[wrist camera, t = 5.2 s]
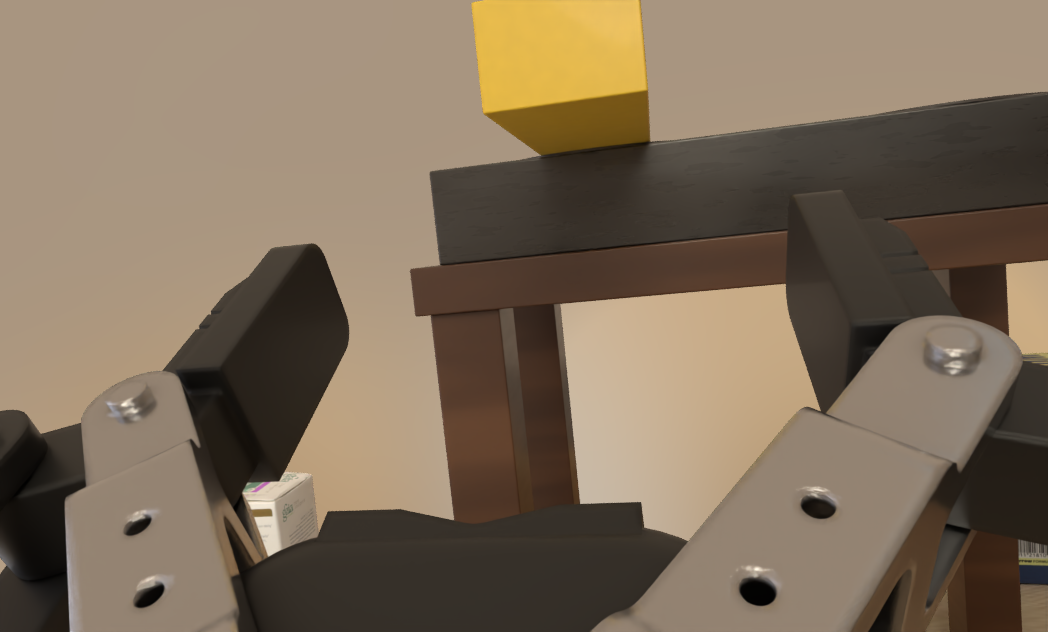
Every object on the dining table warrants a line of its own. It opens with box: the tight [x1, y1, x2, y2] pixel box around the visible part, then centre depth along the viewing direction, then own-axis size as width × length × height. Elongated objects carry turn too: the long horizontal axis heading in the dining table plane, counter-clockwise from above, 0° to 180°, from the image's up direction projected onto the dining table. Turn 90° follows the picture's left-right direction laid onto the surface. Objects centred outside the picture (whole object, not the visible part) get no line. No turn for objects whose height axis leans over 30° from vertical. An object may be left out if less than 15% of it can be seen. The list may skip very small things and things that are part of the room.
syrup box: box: [242, 472, 319, 557], centre depth 50 cm, size 6×6×14 cm
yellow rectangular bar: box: [472, 0, 650, 156], centre depth 33 cm, size 27×4×3 cm, turn 170°
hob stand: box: [410, 92, 1048, 632], centre depth 38 cm, size 20×30×33 cm, turn 80°
